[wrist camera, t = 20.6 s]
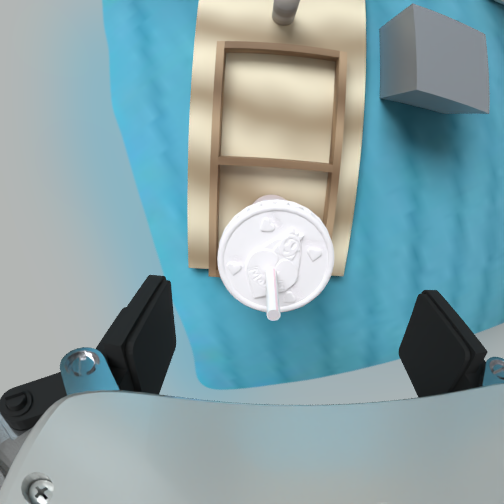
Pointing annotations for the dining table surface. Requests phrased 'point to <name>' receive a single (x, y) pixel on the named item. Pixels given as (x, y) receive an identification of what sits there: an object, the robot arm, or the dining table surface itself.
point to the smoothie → (275, 256)
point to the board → (275, 115)
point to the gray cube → (434, 63)
